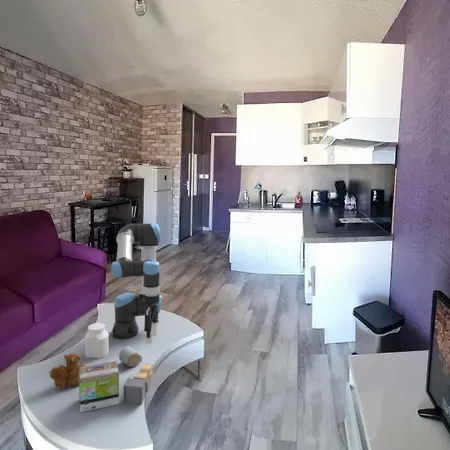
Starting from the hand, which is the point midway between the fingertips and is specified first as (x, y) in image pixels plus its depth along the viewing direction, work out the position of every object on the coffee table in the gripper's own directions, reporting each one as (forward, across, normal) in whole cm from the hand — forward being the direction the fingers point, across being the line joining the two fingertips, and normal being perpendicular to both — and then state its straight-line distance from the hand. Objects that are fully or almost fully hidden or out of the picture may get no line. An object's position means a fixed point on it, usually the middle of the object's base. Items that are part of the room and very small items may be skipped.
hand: (151, 339), depth 168 cm
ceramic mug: (+15, -4, -11) cm, 19 cm away
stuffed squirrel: (+15, +17, -33) cm, 40 cm away
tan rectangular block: (+15, +12, 0) cm, 19 cm away
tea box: (+15, +27, -14) cm, 34 cm away
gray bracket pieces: (+15, +20, 0) cm, 25 cm away
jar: (+15, -10, -32) cm, 37 cm away
